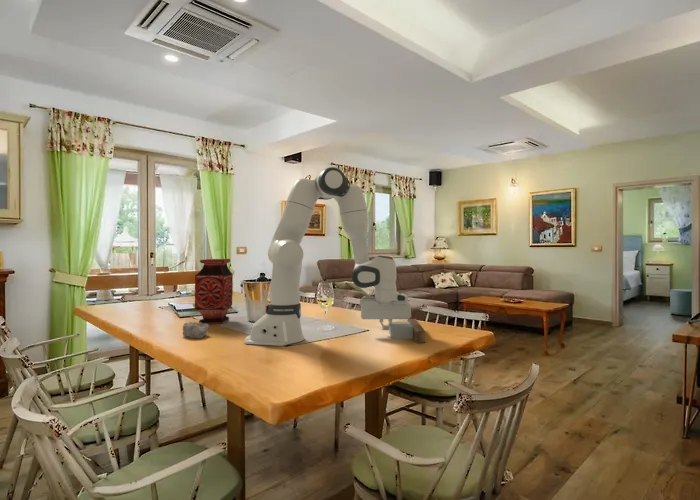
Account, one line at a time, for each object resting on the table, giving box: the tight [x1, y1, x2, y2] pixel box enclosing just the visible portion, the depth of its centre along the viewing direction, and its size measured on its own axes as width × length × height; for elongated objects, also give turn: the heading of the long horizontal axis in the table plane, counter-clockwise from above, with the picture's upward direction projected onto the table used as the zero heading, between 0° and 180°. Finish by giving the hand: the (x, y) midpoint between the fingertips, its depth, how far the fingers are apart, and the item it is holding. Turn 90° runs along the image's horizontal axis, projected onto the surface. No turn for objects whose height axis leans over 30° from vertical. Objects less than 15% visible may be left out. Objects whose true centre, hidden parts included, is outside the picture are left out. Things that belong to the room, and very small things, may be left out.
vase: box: [194, 258, 234, 325], centre depth 191 cm, size 14×14×30 cm
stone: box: [182, 321, 210, 339], centre depth 162 cm, size 10×8×6 cm
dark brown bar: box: [407, 318, 426, 344], centre depth 162 cm, size 4×24×4 cm, turn 179°
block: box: [388, 321, 414, 340], centre depth 162 cm, size 8×10×5 cm
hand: (385, 330), depth 163 cm, fingers closed
